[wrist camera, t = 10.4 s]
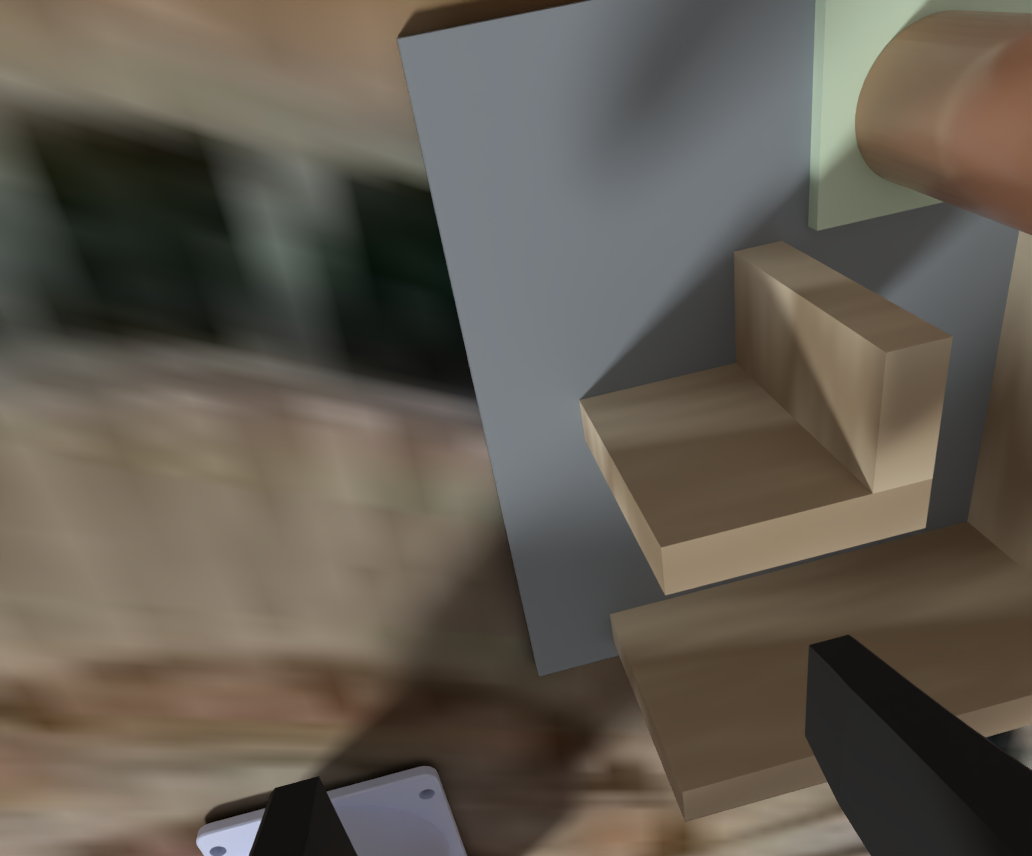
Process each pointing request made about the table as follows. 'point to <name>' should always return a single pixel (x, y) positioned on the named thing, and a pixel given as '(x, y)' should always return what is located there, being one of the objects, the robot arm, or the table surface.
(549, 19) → the board
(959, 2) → the pad
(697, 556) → the tan piece
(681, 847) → the table surface
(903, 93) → the peg
